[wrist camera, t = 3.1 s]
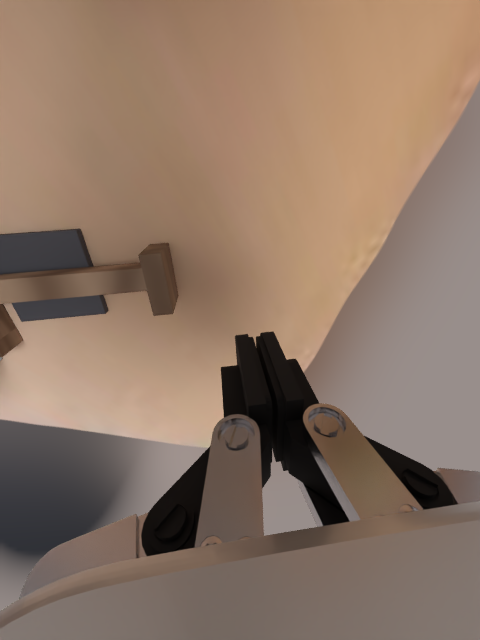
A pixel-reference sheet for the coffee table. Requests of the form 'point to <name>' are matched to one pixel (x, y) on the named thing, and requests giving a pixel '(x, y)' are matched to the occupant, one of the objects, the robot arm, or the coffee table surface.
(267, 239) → the coffee table surface
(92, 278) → the sled
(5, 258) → the panel
